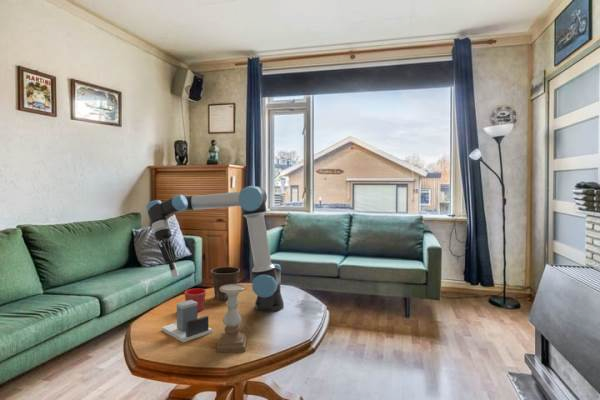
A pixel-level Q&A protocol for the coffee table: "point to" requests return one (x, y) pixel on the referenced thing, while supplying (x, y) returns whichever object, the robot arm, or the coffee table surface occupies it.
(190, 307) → the grey rectangular block
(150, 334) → the coffee table surface
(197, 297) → the flower pot
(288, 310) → the coffee table surface
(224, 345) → the candle holder
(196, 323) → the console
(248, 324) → the coffee table surface
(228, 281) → the plant pot
